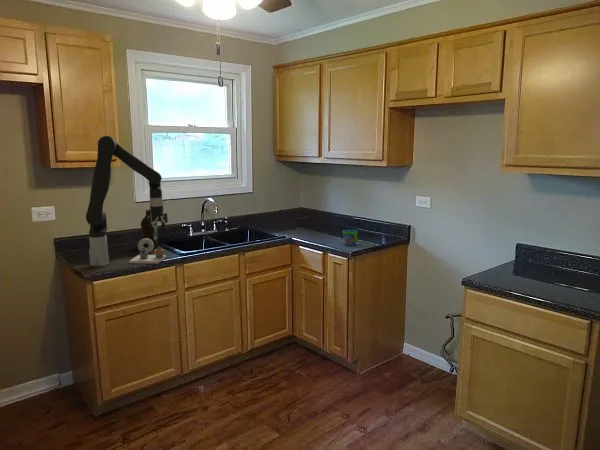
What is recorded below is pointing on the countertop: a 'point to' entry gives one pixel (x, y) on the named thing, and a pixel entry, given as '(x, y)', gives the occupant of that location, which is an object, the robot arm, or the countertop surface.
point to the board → (149, 260)
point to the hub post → (159, 254)
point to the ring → (159, 251)
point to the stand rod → (143, 254)
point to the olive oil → (148, 230)
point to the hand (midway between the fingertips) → (157, 231)
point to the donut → (148, 241)
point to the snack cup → (350, 237)
